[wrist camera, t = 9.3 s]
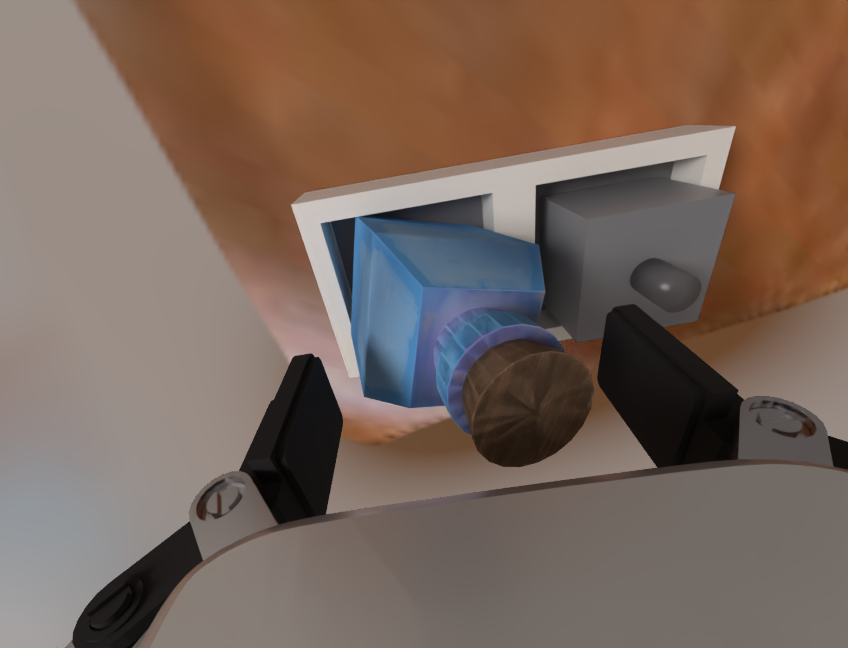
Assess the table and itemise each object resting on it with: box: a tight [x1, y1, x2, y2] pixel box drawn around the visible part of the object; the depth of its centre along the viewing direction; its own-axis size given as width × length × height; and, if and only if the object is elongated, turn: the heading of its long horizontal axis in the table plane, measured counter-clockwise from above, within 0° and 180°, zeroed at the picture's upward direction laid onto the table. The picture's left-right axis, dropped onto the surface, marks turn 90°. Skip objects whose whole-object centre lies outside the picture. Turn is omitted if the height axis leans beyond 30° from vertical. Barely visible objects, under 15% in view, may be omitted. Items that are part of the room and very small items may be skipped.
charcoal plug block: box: [540, 176, 736, 343], centre depth 17 cm, size 6×6×7 cm
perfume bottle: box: [351, 216, 594, 467], centre depth 13 cm, size 6×6×12 cm
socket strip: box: [291, 125, 736, 378], centre depth 19 cm, size 20×10×3 cm, turn 99°
